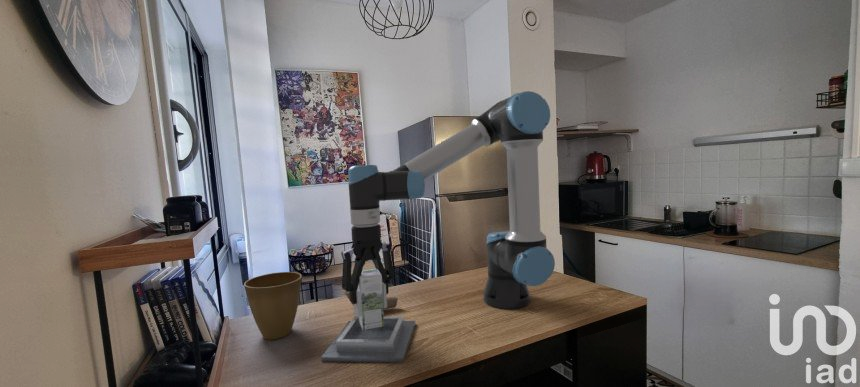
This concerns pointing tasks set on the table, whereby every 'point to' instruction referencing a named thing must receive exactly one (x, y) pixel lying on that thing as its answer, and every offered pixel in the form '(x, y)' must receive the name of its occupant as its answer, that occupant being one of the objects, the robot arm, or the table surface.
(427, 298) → the table surface
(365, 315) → the syrup box
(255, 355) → the table surface
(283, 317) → the plant pot
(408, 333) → the duct plate
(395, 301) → the pipe
